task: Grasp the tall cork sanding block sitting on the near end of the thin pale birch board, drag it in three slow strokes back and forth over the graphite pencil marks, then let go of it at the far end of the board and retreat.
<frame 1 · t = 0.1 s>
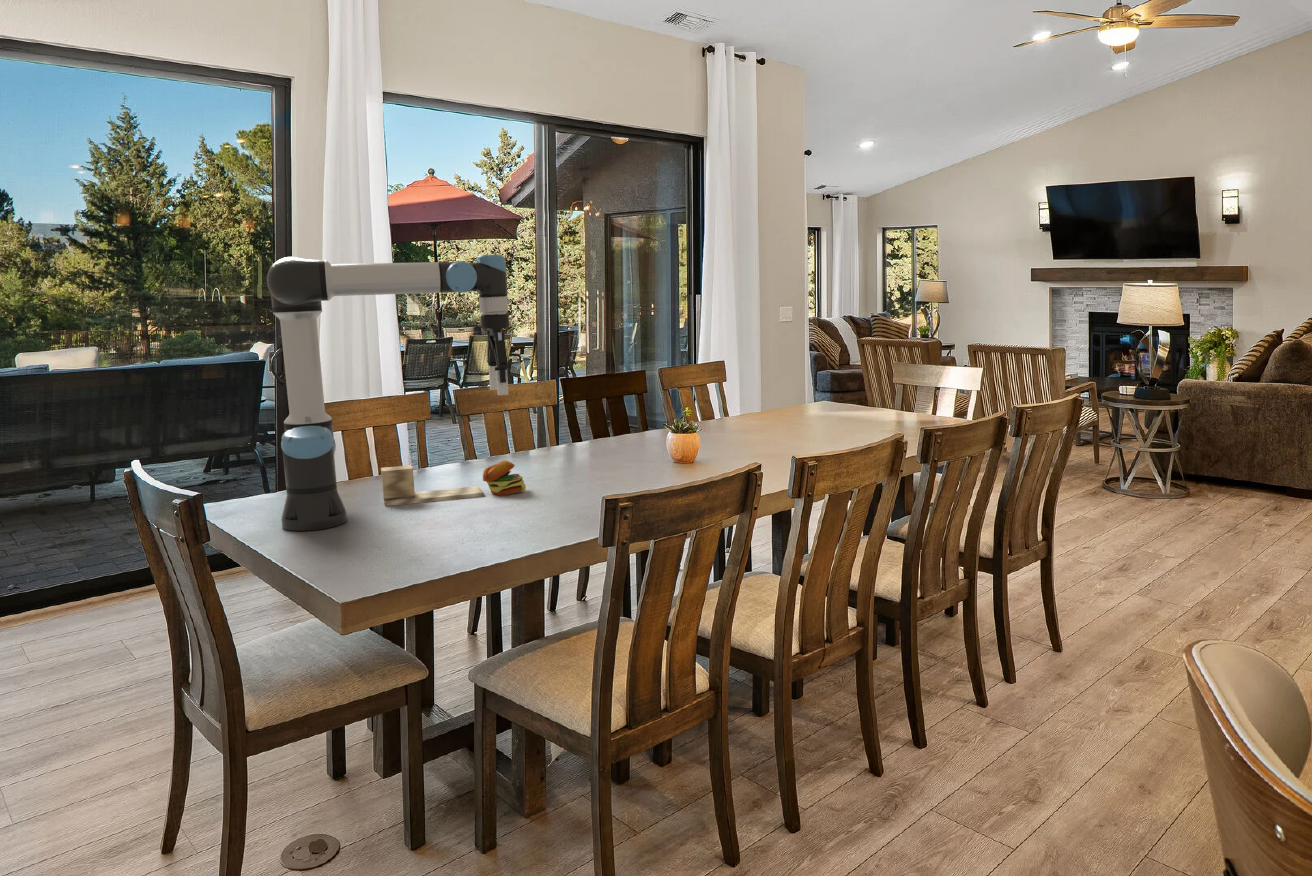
hand: (499, 392, 250), 28 cm above the table, fingers open, 13 cm apart
board: (433, 497, 251), on the table
cheeseburger: (504, 493, 255), on the table
sanding block: (399, 497, 248), point 1 cm above the table, touching board
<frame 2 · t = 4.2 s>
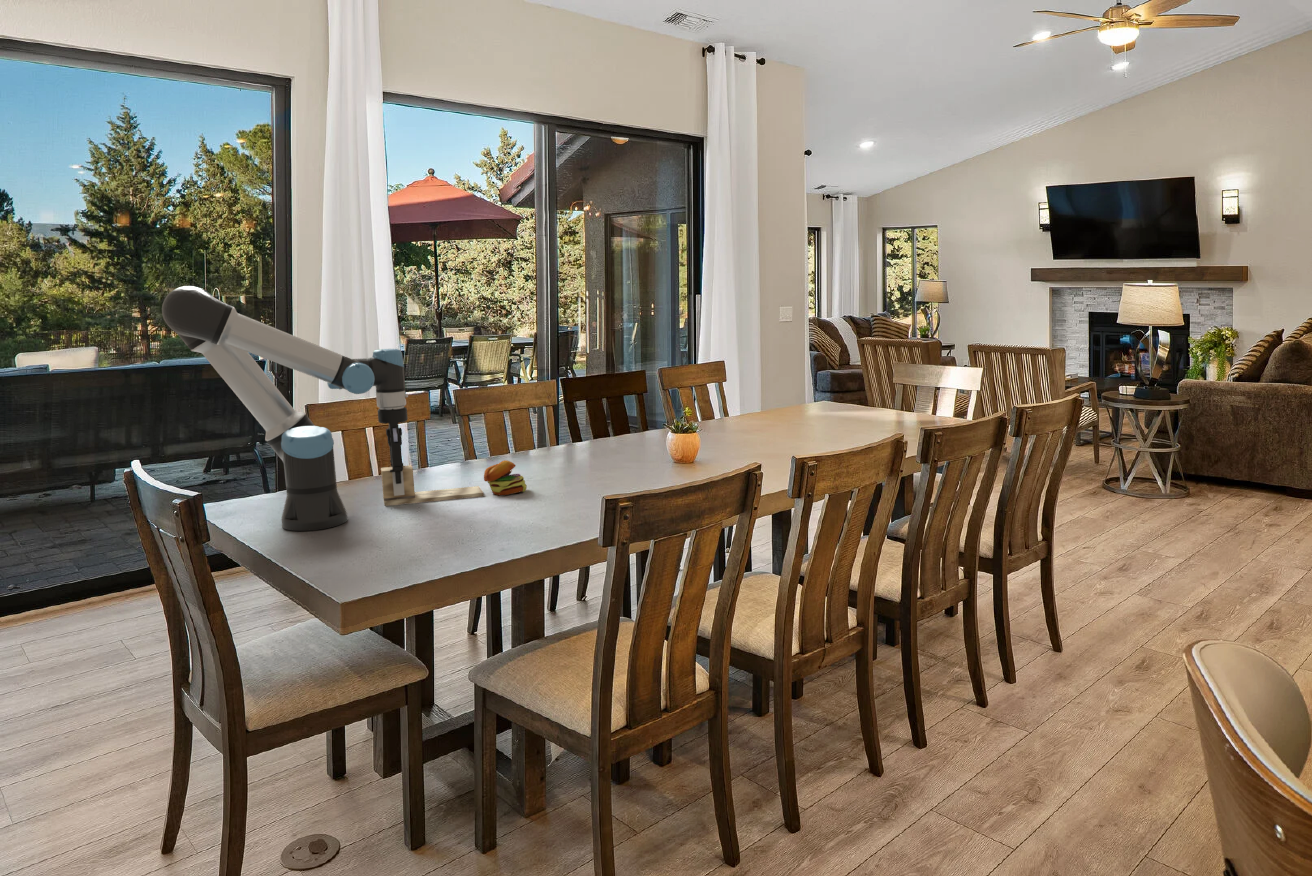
hand: (398, 492, 248), 2 cm above the table, fingers closed on sanding block, 5 cm apart
sanding block: (399, 497, 248), point 1 cm above the table, touching board, gripper
everything else where it was.
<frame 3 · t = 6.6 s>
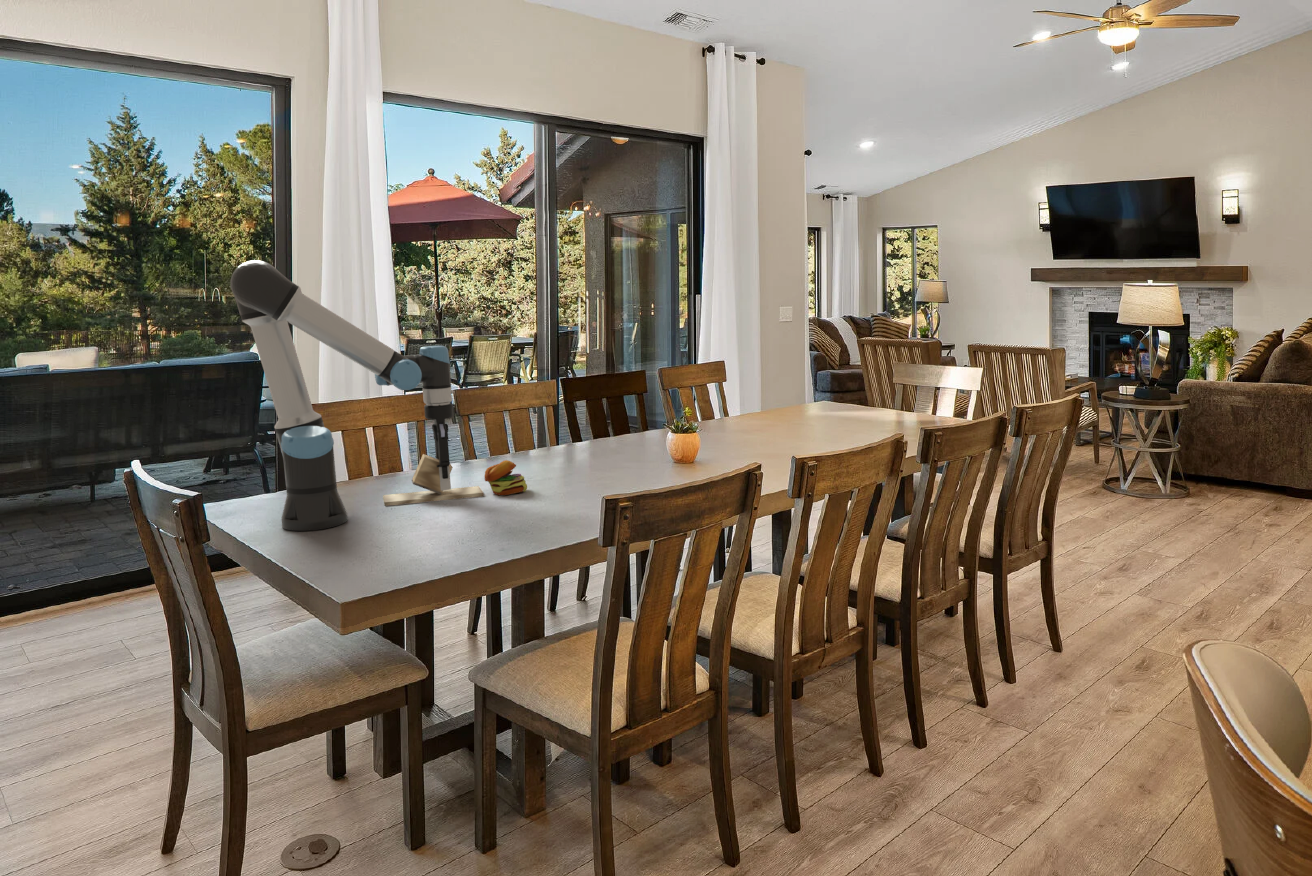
hand: (444, 487, 252), 2 cm above the table, fingers closed on sanding block, 5 cm apart
sanding block: (426, 487, 250), point 3 cm above the table, tilted 27°, touching gripper
everything else where it was.
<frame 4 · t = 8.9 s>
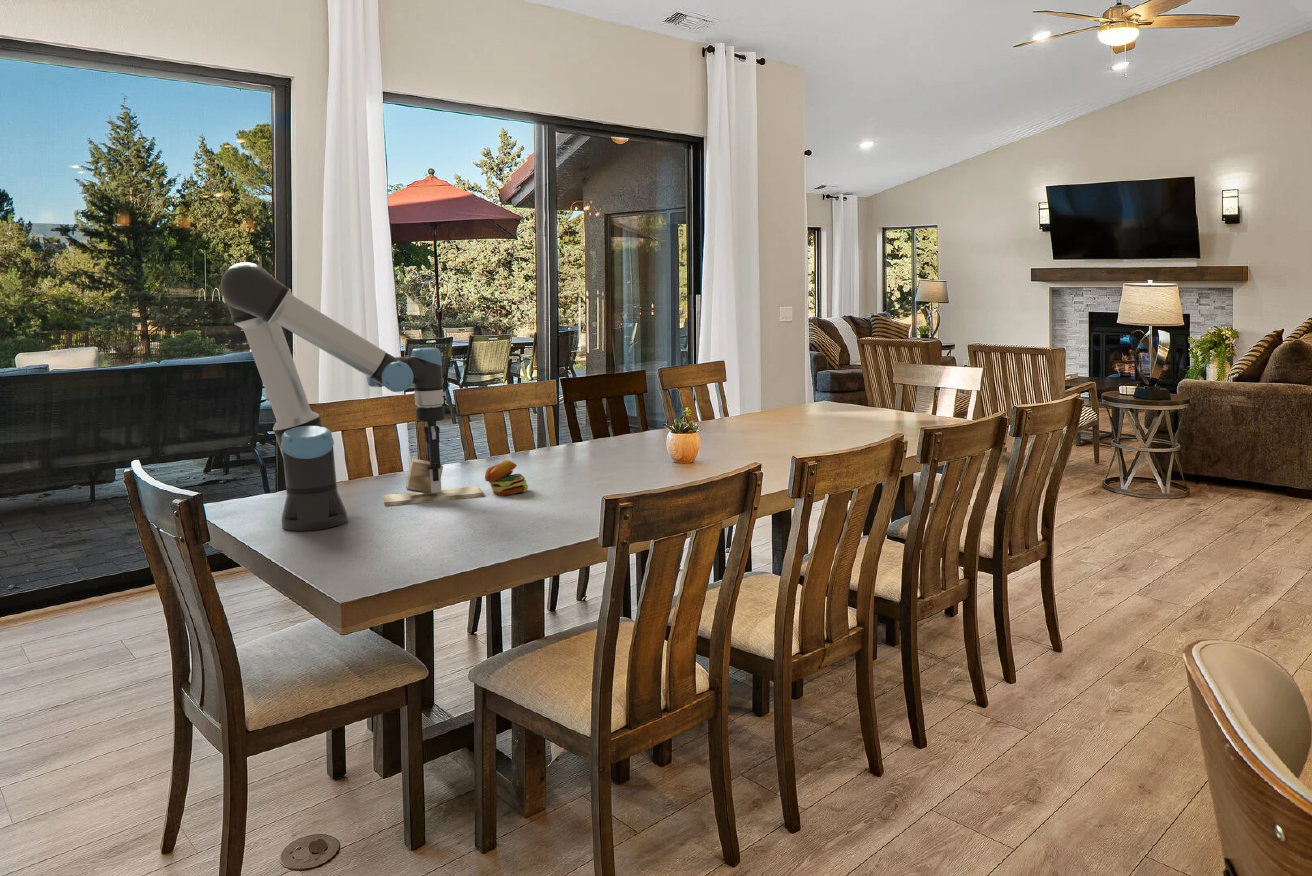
hand: (435, 489, 251), 2 cm above the table, fingers closed on sanding block, 5 cm apart
sanding block: (421, 491, 250), point 2 cm above the table, tilted 16°, touching gripper
everything else where it was.
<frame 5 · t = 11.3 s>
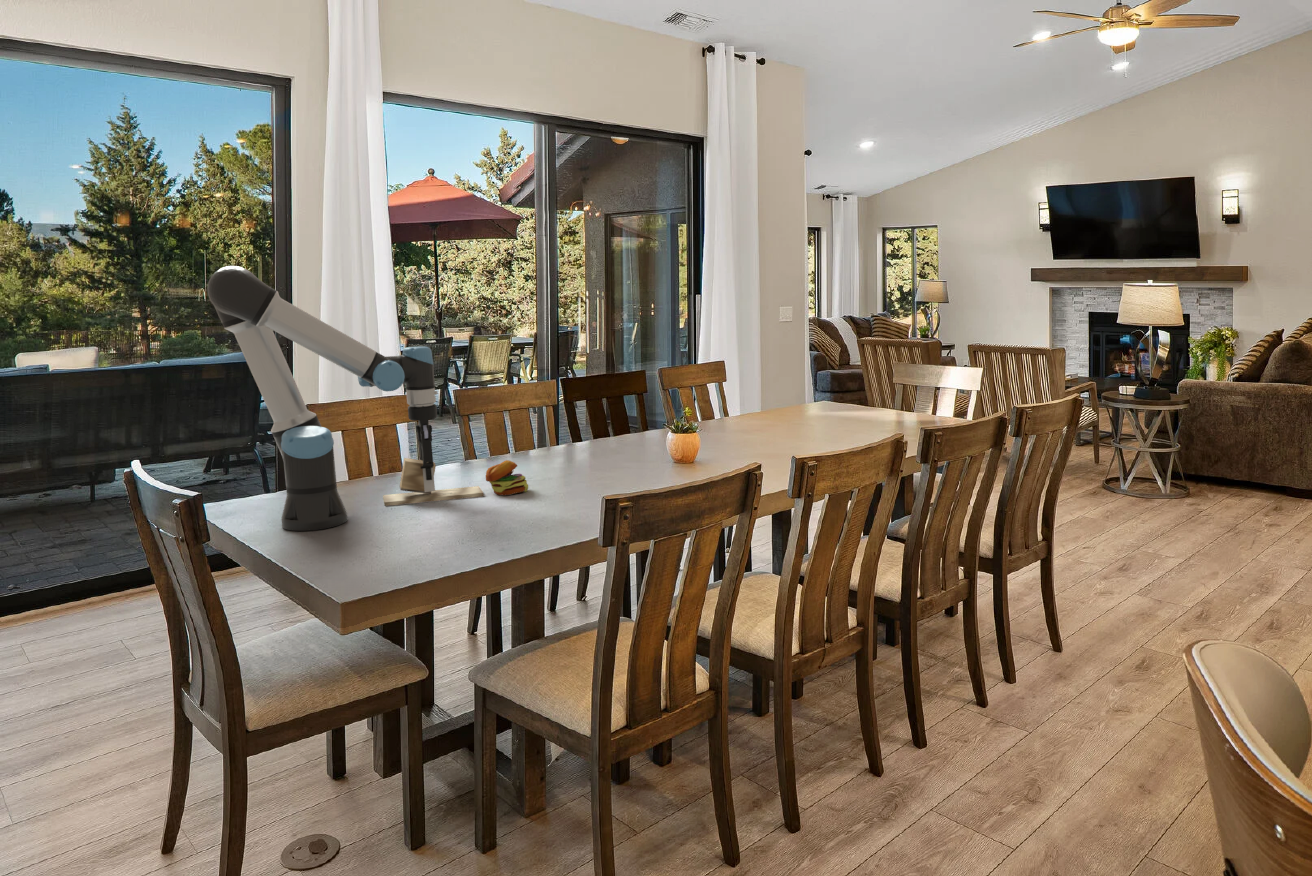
hand: (428, 488, 251), 2 cm above the table, fingers closed on sanding block, 5 cm apart
sanding block: (415, 490, 249), point 2 cm above the table, tilted 13°, touching gripper
everything else where it was.
when the fingers open (2 cm above the table, at t = 13.7 s): sanding block drops 1 cm, resting on board.
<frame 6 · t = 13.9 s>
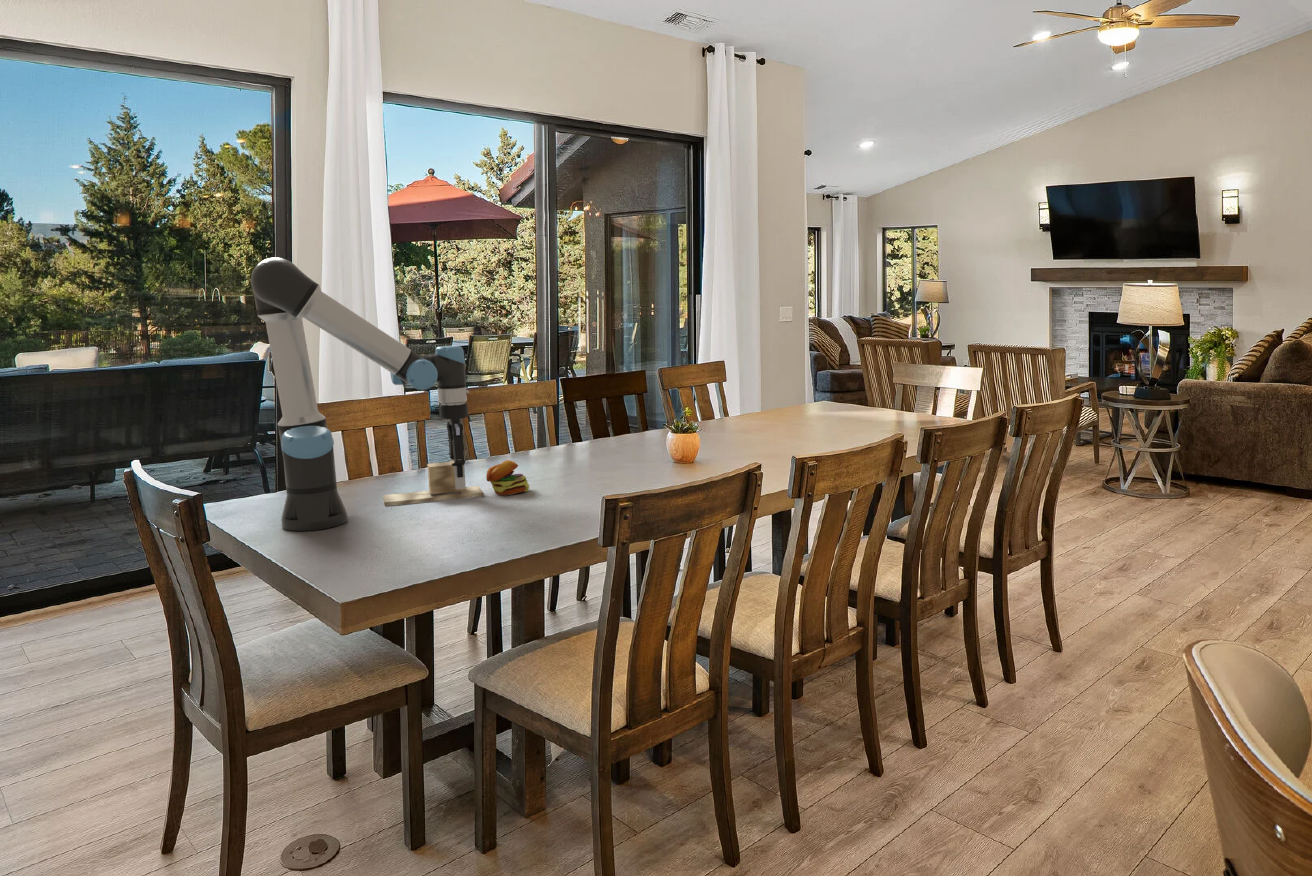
hand: (458, 485, 253), 3 cm above the table, fingers open, 8 cm apart
sanding block: (445, 492, 252), point 1 cm above the table, touching board
everything else where it was.
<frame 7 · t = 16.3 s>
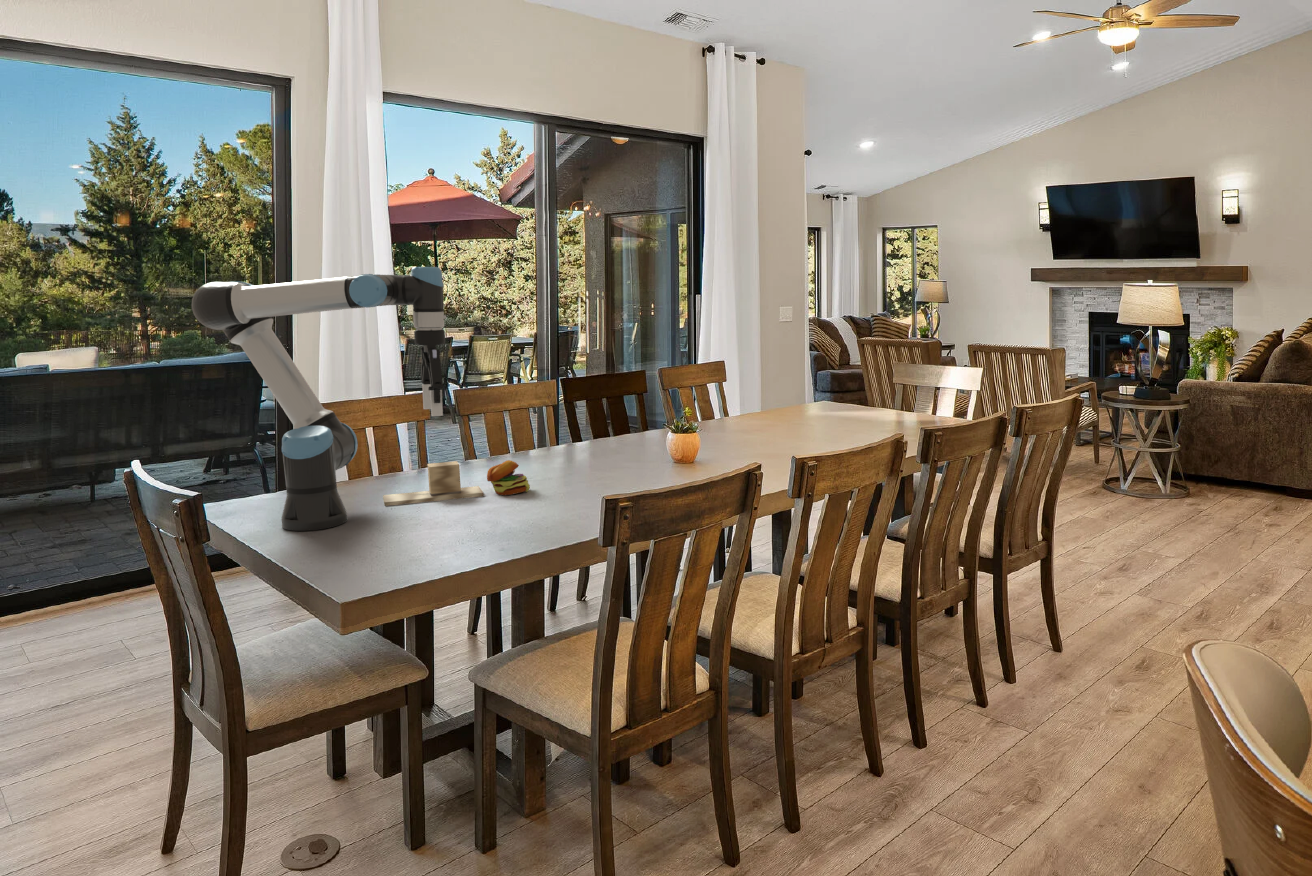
hand: (432, 412, 235), 25 cm above the table, fingers open, 13 cm apart
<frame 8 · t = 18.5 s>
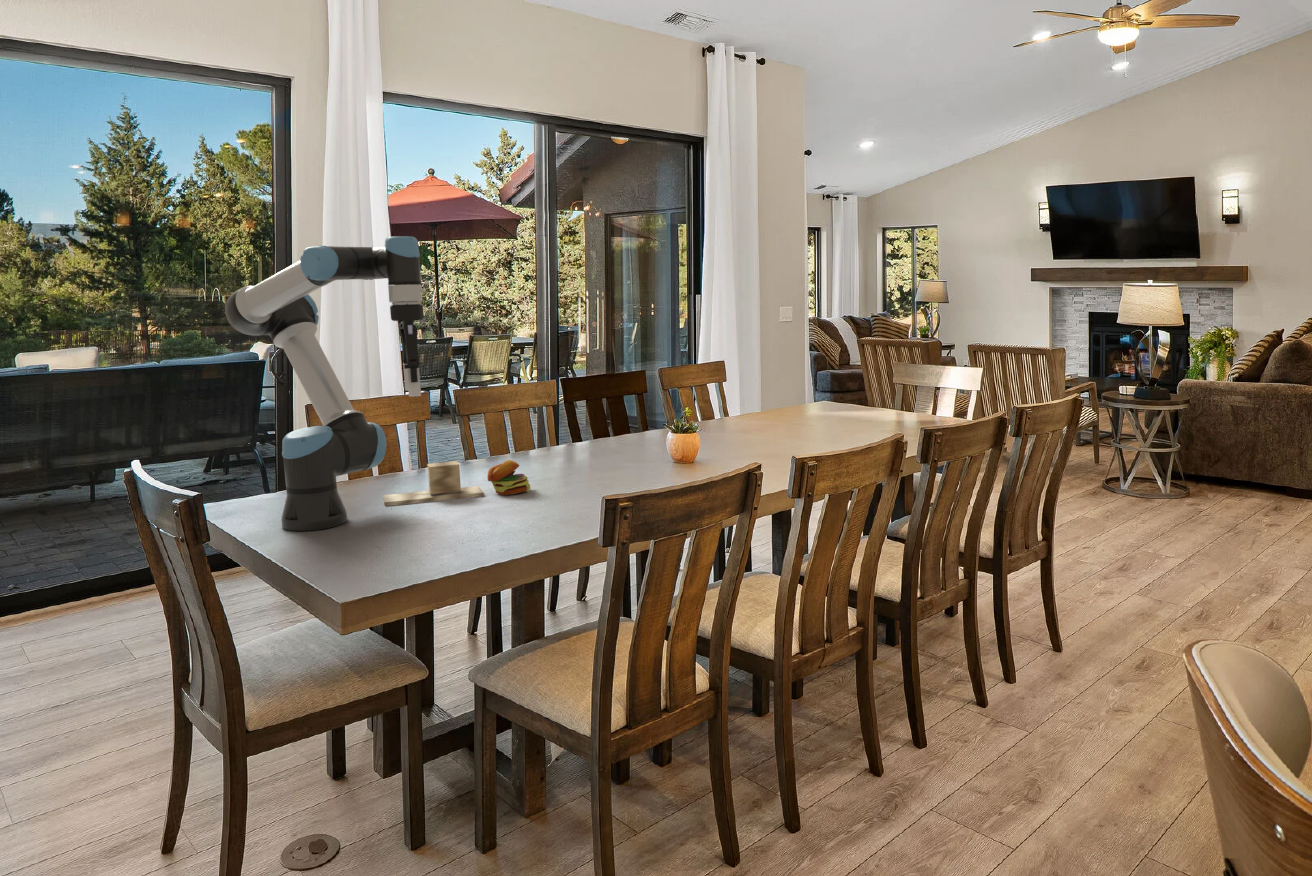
hand: (412, 393, 220), 32 cm above the table, fingers open, 13 cm apart
at the end: sanding block inside the target area on the board (3.8 cm from its centre), point 1.0 cm above the board's base; sanding block touching board; the gripper is holding nothing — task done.
